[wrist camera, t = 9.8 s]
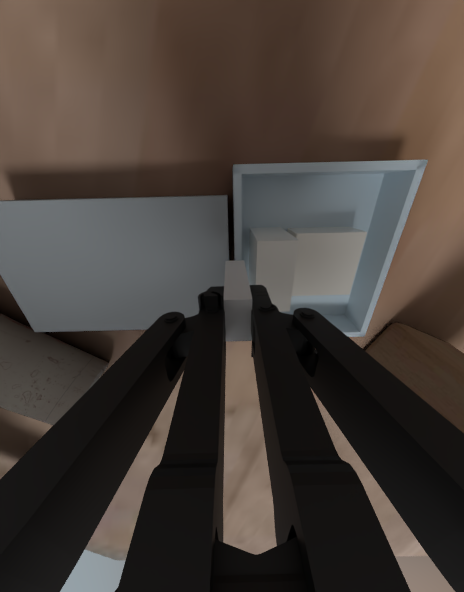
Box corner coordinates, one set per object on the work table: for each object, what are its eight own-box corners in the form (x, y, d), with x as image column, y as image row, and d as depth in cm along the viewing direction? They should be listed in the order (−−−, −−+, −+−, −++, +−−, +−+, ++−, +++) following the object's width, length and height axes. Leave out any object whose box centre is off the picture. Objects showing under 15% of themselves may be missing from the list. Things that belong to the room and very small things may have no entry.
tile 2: (254, 312, 17) (289, 311, 17) (257, 241, 14) (299, 240, 14) (248, 283, 22) (275, 282, 22) (249, 227, 20) (280, 226, 20)
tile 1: (349, 294, 20) (335, 282, 22) (367, 231, 17) (348, 226, 20) (289, 296, 20) (281, 283, 22) (296, 233, 17) (287, 227, 20)
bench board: (66, 309, 24) (34, 332, 20) (15, 200, 19) (-43, 202, 15) (230, 305, 24) (231, 327, 20) (227, 194, 19) (227, 195, 15)
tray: (235, 318, 25) (235, 339, 22) (232, 169, 18) (233, 164, 14) (345, 316, 25) (364, 336, 22) (388, 165, 18) (428, 159, 14)
